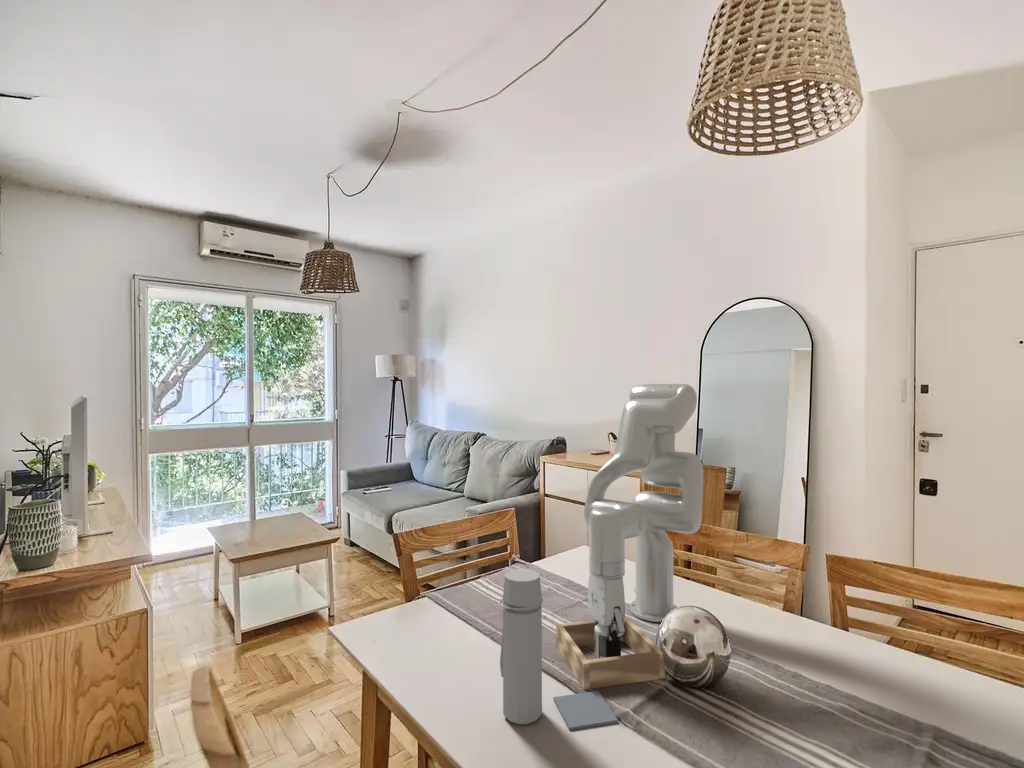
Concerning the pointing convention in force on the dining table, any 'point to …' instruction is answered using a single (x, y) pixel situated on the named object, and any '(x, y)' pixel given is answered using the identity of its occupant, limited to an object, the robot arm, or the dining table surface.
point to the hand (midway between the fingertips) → (607, 649)
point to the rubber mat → (584, 710)
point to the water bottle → (522, 646)
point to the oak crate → (609, 669)
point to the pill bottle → (601, 640)
